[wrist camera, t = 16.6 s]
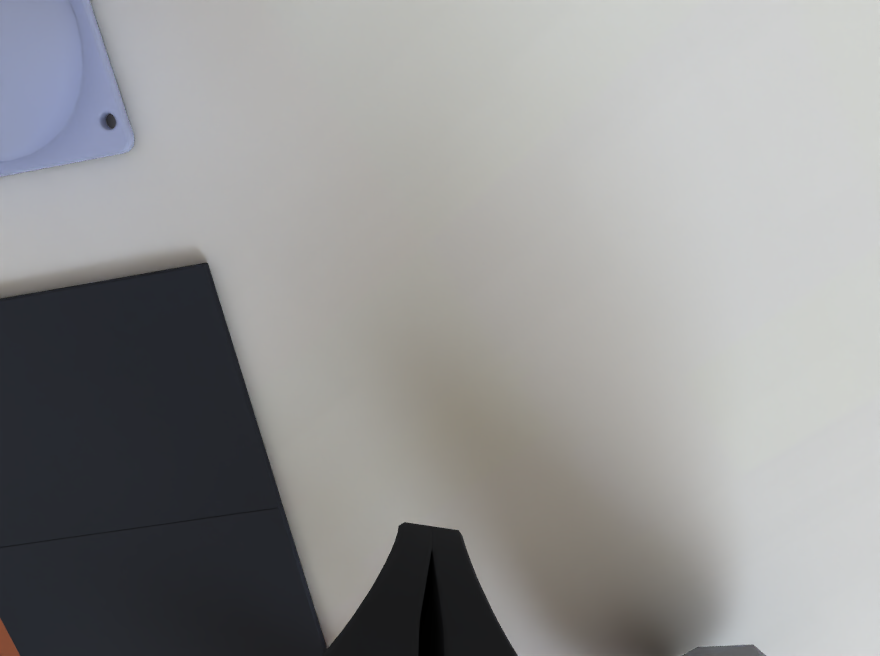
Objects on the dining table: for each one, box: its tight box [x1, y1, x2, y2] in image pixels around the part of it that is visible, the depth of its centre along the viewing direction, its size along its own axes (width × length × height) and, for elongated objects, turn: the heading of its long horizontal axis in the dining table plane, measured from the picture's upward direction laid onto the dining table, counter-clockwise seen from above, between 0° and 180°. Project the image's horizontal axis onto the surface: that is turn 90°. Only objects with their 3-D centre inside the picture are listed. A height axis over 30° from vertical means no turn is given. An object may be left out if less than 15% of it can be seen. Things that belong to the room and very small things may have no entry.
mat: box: [0, 263, 327, 656], centre depth 24 cm, size 20×24×1 cm
